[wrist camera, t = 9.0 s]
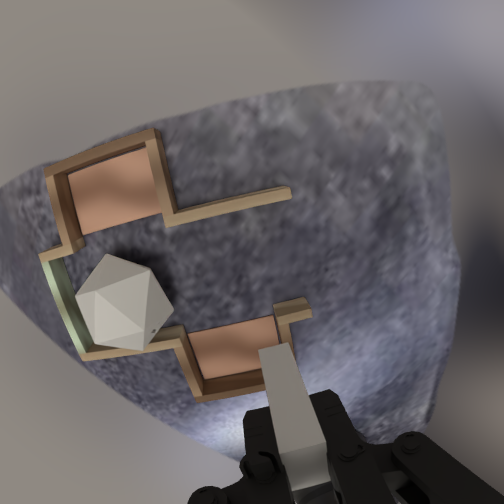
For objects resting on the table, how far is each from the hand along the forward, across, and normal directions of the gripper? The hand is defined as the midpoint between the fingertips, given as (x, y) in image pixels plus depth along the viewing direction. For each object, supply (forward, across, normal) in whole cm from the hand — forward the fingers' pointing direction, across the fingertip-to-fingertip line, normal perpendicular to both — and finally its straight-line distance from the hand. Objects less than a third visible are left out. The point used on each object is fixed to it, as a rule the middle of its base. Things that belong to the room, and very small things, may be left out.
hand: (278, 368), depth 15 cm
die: (+18, +12, -1) cm, 22 cm away
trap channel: (+18, +8, -1) cm, 19 cm away
